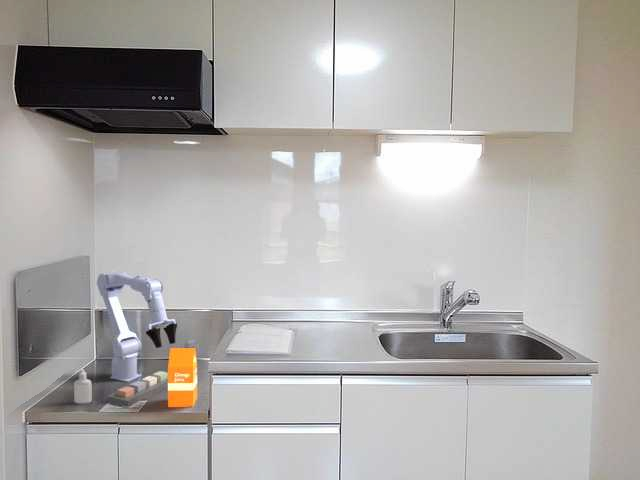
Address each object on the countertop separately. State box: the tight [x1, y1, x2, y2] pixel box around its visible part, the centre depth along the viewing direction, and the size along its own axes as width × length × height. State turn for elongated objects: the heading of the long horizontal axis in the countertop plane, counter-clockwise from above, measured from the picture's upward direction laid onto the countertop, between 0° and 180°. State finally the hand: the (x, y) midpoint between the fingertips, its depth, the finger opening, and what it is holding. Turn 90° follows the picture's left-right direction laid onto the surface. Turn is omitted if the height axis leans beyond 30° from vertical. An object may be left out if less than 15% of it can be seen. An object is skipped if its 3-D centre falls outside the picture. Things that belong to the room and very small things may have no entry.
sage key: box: [152, 370, 168, 381], centre depth 191 cm, size 4×4×2 cm
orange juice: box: [167, 347, 198, 408], centre depth 172 cm, size 8×9×20 cm
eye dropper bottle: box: [73, 368, 93, 405], centre depth 171 cm, size 4×6×12 cm
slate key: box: [129, 380, 146, 392], centre depth 180 cm, size 4×4×2 cm
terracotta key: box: [116, 385, 134, 398], centre depth 174 cm, size 4×4×2 cm
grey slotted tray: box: [106, 374, 168, 407], centre depth 182 cm, size 10×26×2 cm, turn 157°
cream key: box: [141, 375, 157, 387], centre depth 185 cm, size 4×4×2 cm
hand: (166, 345), depth 182 cm, fingers open, 7 cm apart
